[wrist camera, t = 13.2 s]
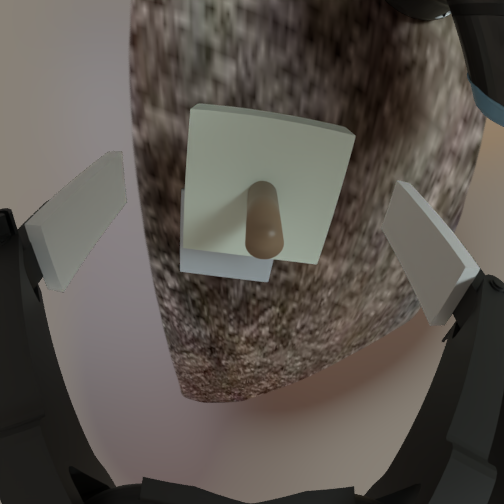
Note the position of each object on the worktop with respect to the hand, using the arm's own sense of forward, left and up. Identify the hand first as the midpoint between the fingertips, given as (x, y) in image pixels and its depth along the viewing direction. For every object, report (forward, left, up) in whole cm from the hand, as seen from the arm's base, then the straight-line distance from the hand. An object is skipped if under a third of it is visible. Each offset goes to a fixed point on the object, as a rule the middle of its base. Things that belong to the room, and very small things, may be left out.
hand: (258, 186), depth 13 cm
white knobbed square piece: (-2, +8, -20) cm, 21 cm away
